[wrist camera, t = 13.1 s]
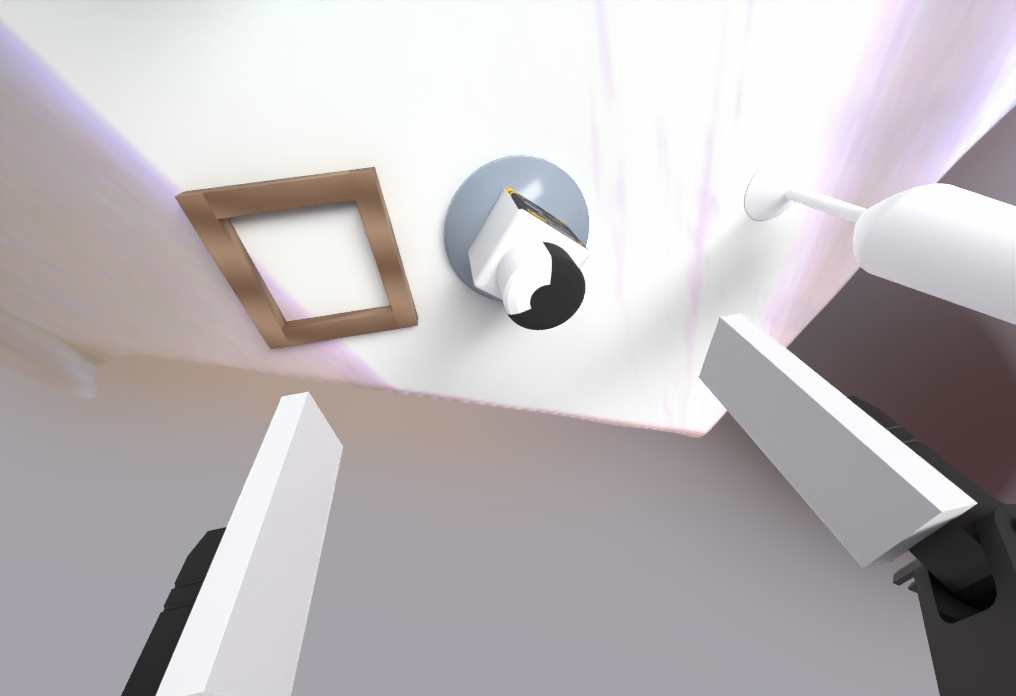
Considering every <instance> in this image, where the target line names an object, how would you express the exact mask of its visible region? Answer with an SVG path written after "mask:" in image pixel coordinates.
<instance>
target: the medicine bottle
mask: <svg viewBox="0 0 1016 696" xmlns="http://www.w3.org/2000/svg"><path fill="white" fill-rule="evenodd" d="M589 255H590V254H589V251H588V249H587V248H586V247H585V246H584V245H583V244H582V242H581V241H580V240H579V239H578V238H577V237H576V235H575V234H574V233H573V232H572V231H571V229H570V228H569V227H568V226H567V225H566V224H565V223H564V222H562V221H561V220H559V219H558V218H556V217H554V216H553V215H551V214H550V213H548V212H547V211H545V210H544V209H542V208H540V207H539V206H537V205H536V204H534V203H533V202H531V201H530V200H528V199H527V198H525V197H523V196H522V195H520V194H519V193H517V192H516V191H514V190H513V189H511V188H509V187H505V188H504V190H503V191H502V193H501V195H500V197H499V198H498V200H497V202H496V204H495V205H494V207H493V209H492V211H491V212H490V214H489V216H488V218H487V219H486V221H485V223H484V224H483V226H482V228H481V230H480V231H479V233H478V235H477V237H476V238H475V240H474V242H473V244H472V245H471V247H470V249H469V251H468V256H469V261H470V266H471V272H472V277H473V282H474V286H475V287H476V288H478V289H480V290H482V291H484V292H487V293H489V294H491V295H493V296H495V297H497V298H499V299H501V300H503V303H504V307H505V310H506V312H507V314H508V315H509V317H510V318H511V319H512V320H513V321H514V322H515V323H516V324H518V325H520V326H522V327H524V328H527V329H531V330H545V329H550V328H553V327H556V326H558V325H560V324H562V323H564V322H565V321H567V320H568V319H569V318H570V317H572V316H573V315H574V313H575V312H576V311H577V310H578V308H579V307H580V305H581V303H582V301H583V298H584V294H585V280H584V277H583V274H582V272H581V271H580V267H581V266H582V265H583V263H584V262H585V261H586V259H587V258H588V257H589Z"/></svg>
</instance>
